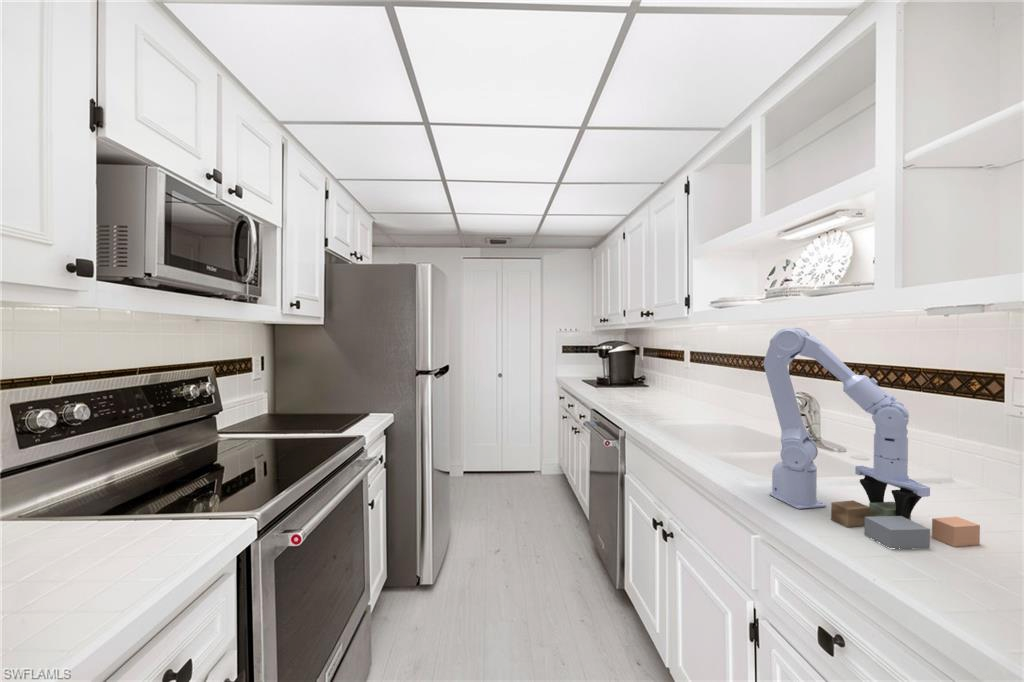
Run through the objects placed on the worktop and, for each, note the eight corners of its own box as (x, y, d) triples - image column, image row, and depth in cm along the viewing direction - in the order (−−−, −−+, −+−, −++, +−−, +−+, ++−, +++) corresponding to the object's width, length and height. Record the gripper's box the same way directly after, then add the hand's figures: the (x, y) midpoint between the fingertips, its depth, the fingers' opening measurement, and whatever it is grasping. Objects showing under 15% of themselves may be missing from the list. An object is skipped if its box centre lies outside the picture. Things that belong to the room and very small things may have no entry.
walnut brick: (831, 519, 98) (831, 502, 98) (852, 517, 99) (853, 500, 99) (847, 527, 94) (848, 509, 94) (870, 525, 95) (870, 507, 95)
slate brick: (864, 535, 90) (864, 516, 90) (901, 534, 91) (901, 515, 91) (890, 549, 84) (890, 530, 84) (929, 549, 85) (929, 529, 85)
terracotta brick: (932, 537, 89) (932, 518, 89) (956, 535, 90) (956, 516, 90) (954, 546, 85) (954, 527, 85) (979, 544, 86) (979, 525, 86)
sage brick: (869, 520, 97) (869, 502, 97) (892, 518, 98) (892, 501, 98) (886, 528, 93) (886, 510, 93) (910, 526, 94) (910, 508, 94)
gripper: (942, 465, 89) (941, 529, 89) (873, 446, 103) (872, 502, 103) (914, 467, 88) (913, 532, 88) (848, 448, 102) (847, 504, 102)
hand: (889, 516), depth 96 cm, fingers open, 5 cm apart
